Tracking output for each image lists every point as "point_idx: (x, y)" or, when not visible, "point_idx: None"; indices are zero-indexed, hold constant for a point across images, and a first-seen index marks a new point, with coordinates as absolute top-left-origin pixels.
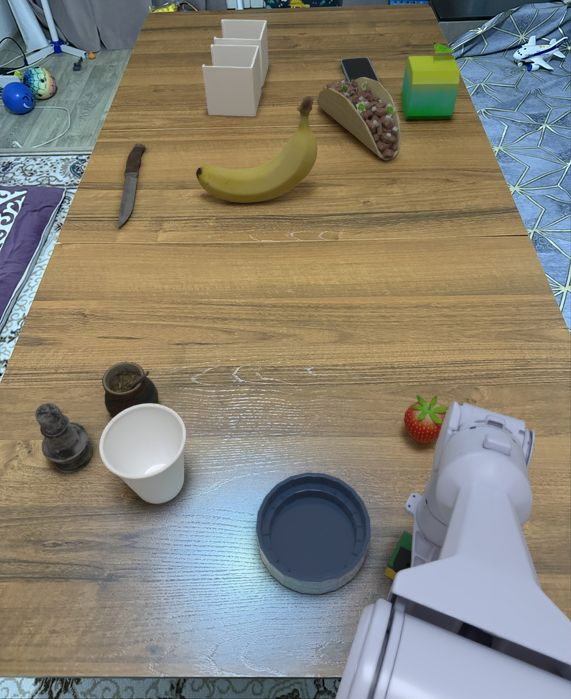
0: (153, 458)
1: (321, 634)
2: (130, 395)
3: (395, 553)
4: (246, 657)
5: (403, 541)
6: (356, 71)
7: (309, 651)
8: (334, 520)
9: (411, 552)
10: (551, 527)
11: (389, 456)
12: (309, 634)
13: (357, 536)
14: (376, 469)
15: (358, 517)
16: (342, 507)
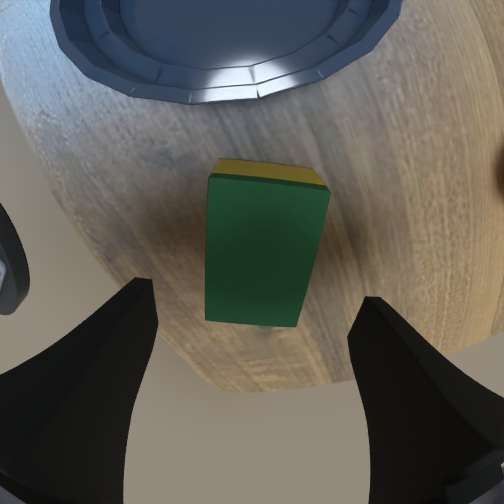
0: None
1: (60, 104)
2: None
3: (250, 187)
4: (5, 42)
5: (296, 198)
6: None
7: (35, 105)
8: (295, 6)
9: (43, 493)
10: None
11: (478, 113)
12: (52, 87)
13: (262, 63)
14: (451, 87)
15: (323, 50)
16: (337, 14)
